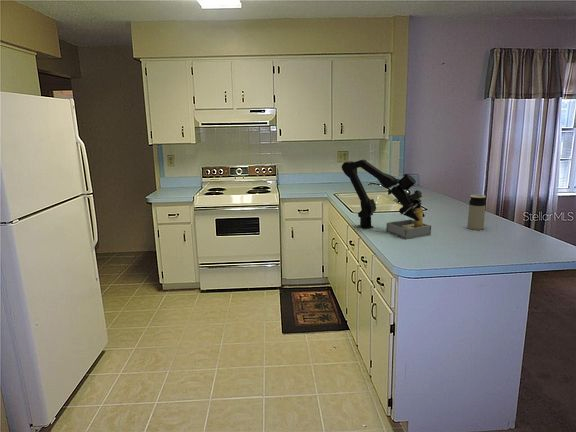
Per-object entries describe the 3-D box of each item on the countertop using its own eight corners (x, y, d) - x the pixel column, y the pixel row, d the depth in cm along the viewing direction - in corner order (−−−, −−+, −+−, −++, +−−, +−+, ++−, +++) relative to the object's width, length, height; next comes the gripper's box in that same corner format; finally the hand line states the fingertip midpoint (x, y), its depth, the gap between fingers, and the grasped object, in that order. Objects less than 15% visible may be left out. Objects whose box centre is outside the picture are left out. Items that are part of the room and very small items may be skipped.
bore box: (386, 231, 219) (386, 222, 218) (410, 228, 225) (410, 219, 224) (405, 239, 205) (406, 229, 204) (430, 235, 211) (431, 225, 210)
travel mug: (485, 230, 217) (488, 197, 213) (469, 230, 218) (471, 197, 214) (481, 226, 224) (484, 194, 220) (465, 226, 226) (468, 194, 222)
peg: (412, 232, 213) (413, 209, 210) (415, 230, 216) (416, 207, 213) (420, 233, 211) (421, 210, 208) (423, 231, 214) (424, 208, 211)
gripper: (406, 188, 203) (427, 212, 199) (418, 183, 217) (438, 205, 213) (390, 202, 209) (410, 226, 205) (403, 196, 224) (422, 218, 220)
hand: (421, 218), depth 211 cm, fingers open, 9 cm apart
